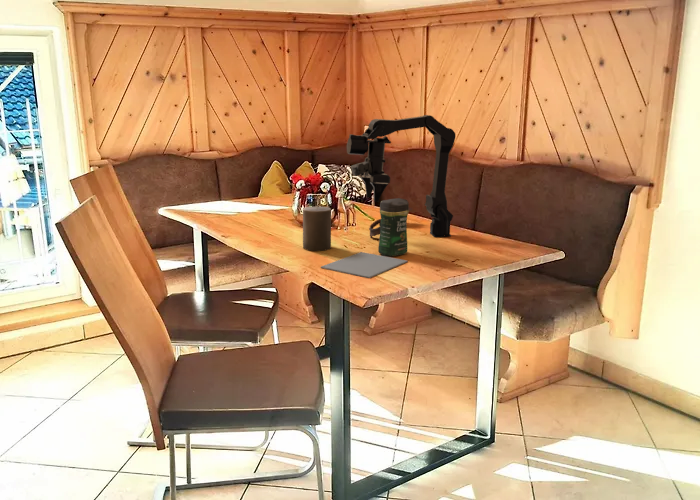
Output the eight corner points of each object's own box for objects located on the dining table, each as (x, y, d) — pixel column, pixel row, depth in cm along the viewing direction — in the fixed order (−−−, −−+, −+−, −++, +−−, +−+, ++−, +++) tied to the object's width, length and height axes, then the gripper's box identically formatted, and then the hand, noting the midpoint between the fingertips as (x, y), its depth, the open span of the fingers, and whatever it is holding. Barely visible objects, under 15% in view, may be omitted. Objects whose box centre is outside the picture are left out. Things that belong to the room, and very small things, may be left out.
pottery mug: (399, 242, 233) (389, 224, 229) (375, 252, 235) (365, 234, 232) (399, 227, 243) (389, 209, 240) (376, 237, 246) (366, 219, 243)
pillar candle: (324, 252, 217) (324, 208, 213) (298, 249, 220) (297, 206, 217) (335, 246, 226) (335, 203, 222) (309, 243, 229) (309, 201, 225)
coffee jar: (391, 258, 210) (392, 202, 205) (374, 253, 216) (375, 198, 211) (411, 253, 216) (413, 198, 211) (394, 249, 222) (396, 195, 217)
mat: (361, 253, 216) (361, 251, 216) (407, 261, 206) (407, 260, 206) (320, 267, 199) (320, 266, 199) (369, 278, 189) (369, 276, 189)
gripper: (347, 151, 234) (343, 194, 238) (361, 157, 217) (357, 203, 220) (376, 153, 237) (372, 195, 241) (392, 159, 220) (388, 204, 223)
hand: (372, 199), depth 231 cm, fingers open, 9 cm apart
